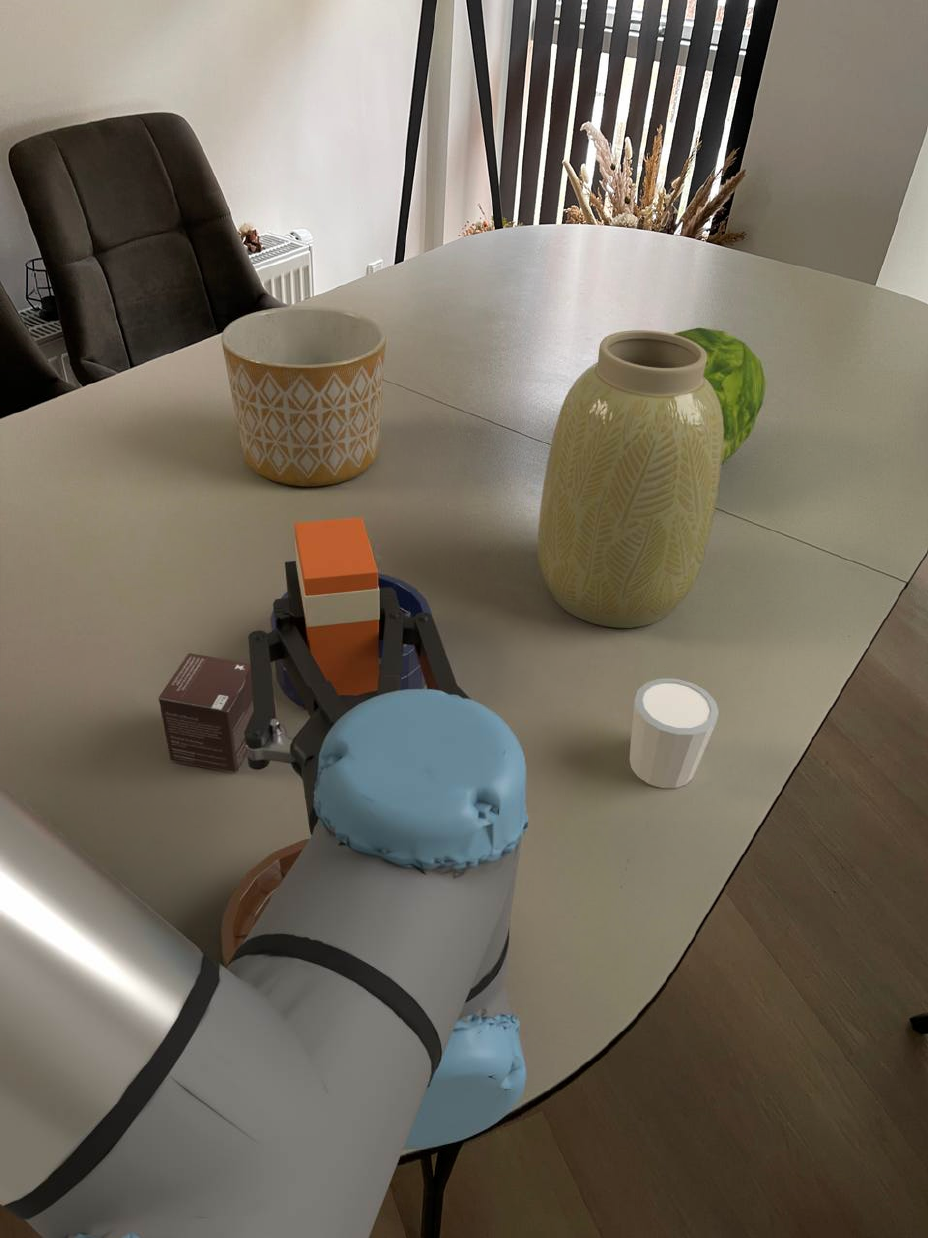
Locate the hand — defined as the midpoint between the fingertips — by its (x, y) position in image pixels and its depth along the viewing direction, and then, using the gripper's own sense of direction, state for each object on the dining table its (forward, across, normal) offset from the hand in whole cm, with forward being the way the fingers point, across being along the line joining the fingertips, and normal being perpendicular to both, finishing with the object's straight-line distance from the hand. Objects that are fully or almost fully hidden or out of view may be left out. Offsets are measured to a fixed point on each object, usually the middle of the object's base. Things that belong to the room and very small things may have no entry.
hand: (328, 574), depth 68 cm
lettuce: (+44, +50, -20) cm, 70 cm away
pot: (+13, +3, -20) cm, 24 cm away
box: (+5, -10, -20) cm, 23 cm away
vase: (+20, +32, -20) cm, 43 cm away
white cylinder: (-5, +27, -20) cm, 34 cm away
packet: (-5, 0, -7) cm, 9 cm away
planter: (+55, +4, -20) cm, 59 cm away
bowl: (-17, -2, -20) cm, 26 cm away
